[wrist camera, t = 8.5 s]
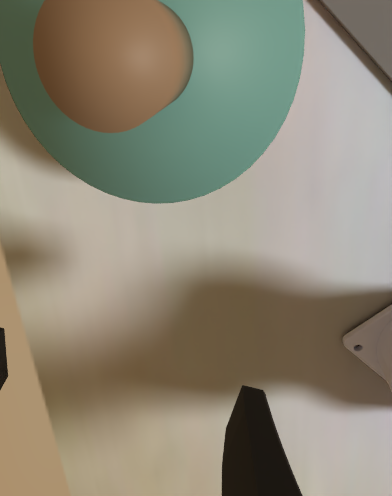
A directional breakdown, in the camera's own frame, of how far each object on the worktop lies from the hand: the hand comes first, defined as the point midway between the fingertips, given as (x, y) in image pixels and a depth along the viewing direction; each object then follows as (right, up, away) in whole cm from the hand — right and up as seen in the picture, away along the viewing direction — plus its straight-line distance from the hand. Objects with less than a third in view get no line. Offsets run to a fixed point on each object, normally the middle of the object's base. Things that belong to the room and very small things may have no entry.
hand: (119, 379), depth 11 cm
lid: (+1, +10, +2) cm, 11 cm away
